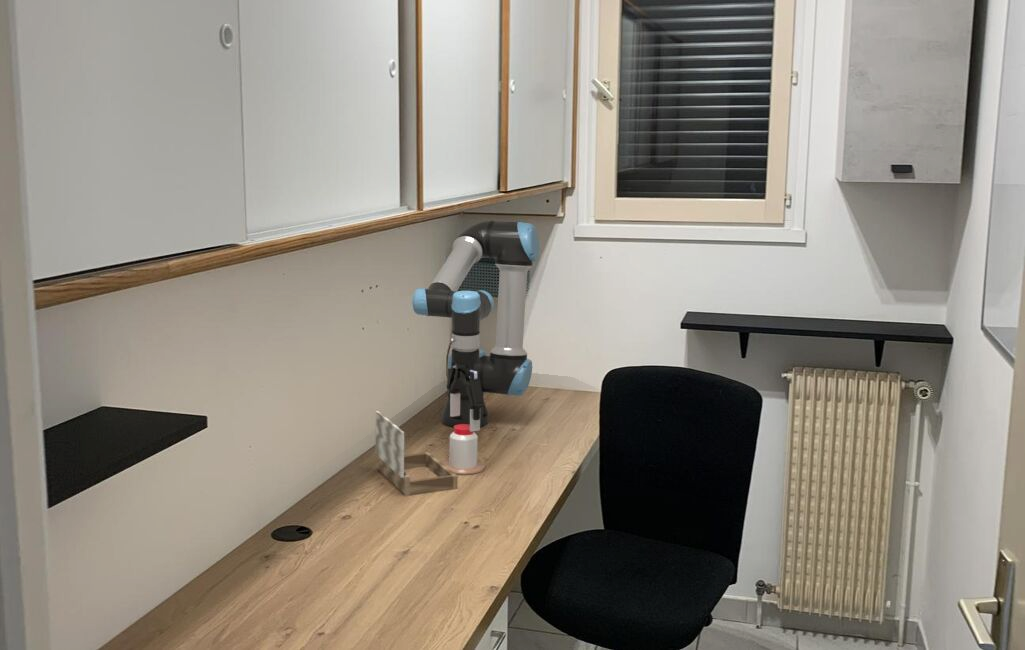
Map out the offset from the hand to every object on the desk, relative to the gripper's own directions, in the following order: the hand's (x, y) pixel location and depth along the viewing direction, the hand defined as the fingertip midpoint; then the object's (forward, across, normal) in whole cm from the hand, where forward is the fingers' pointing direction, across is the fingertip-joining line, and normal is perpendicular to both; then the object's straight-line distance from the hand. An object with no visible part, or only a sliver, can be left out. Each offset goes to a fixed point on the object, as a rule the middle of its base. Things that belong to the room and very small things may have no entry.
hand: (464, 423), depth 269 cm
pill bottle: (+12, +1, -1) cm, 12 cm away
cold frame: (+12, +5, -16) cm, 20 cm away
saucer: (+13, +1, -1) cm, 13 cm away
